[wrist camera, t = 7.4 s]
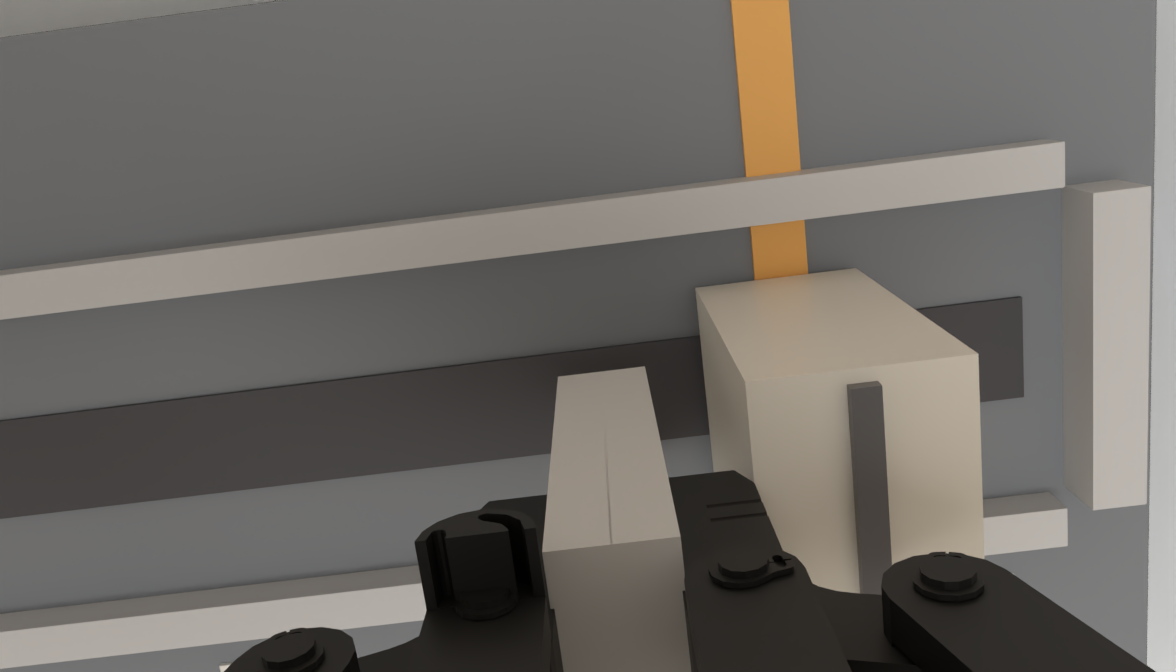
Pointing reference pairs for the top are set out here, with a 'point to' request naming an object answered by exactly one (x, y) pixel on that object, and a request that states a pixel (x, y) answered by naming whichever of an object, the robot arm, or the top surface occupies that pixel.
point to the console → (527, 280)
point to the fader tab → (845, 421)
